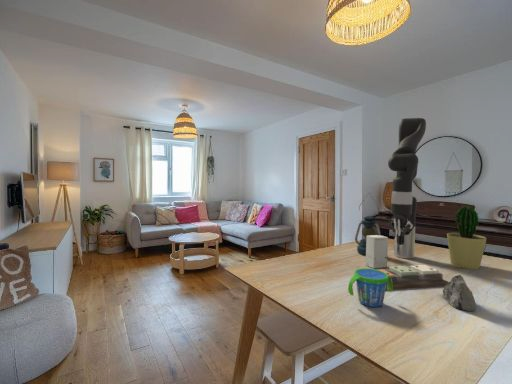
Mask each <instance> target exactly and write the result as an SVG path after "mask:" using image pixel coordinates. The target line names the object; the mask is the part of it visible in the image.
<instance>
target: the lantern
mask: <svg viewBox="0 0 512 384" xmlns="http://www.w3.org/2000/svg"><path fill="white" fill-rule="evenodd" d="M368 195H370V196H372V194H371V193H370V192H368V193H367V195H365V196H366V197H364V199H363V201H362V202H361V203H360V205H359V207H358V208H359V209H358V210H360V207H361V205H362V204H363V202H364V201H365V199H366V198H367V197H368ZM372 200H373V201H374V203H375V204H376V206H378V204H377V202H376V201H375V199H374V198H372ZM377 210H378V213H380V209H379V207H377ZM379 223H380V221H378V222H377V221H375V217H372V216H370V215H367V216H364V217H363V219H362V220H360V223H358V225H357V226H358V227H357V229H356V233H355V236H354V241H355V243H356V244H357V246H356V250H357V254H359V255H361V256H365V257H366V236H369V235H375V234H376V232H377V234H378V235H381V230H380V226H379ZM362 225H363V228H362V227H361V226H362ZM374 226H376V229H375V228H374ZM361 228H362V230H360V229H361ZM360 232H361V234H362V236H363V237H364V238H362V239H360V241H359V240H358V239H359V234H360ZM381 236H382V235H381Z"/></svg>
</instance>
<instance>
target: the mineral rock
mask: <svg viewBox="0 0 512 384" xmlns="http://www.w3.org/2000/svg"><path fill="white" fill-rule="evenodd" d="M448 282H449V283H447V284H446V285H445V286H443V289H442V293H443V294H442V295H443V298H444V299H445V301H447V302H448V303H449V304H450V305H451V306H452V307H454V308H455V309H458V310H463V311H465V312H471V311H476V310H477V305H476V299H475V297H474V294H473V291H472V290H470V288H469V287H468V285H467V283H466V281H465V279H464V277H463V276H462V275H460V274H457V275H455V276H453V277H452V278H451V280H450V281H448Z"/></svg>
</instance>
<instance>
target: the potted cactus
mask: <svg viewBox="0 0 512 384" xmlns="http://www.w3.org/2000/svg"><path fill="white" fill-rule="evenodd" d="M479 217H480V216H479V213H478V211H477V210H475V209H474V207H473V206H468V205H465V206H462V207H460V208H459V209H458V210H457V211H456V212H455V219H454V223H457V225H456V226H457V230H458V232H448V233H446V237H447V238H446V239H447V245H448V252H449V260H450V264H451V265H452V266H455V267H459V268H462V269H467V270H478V269H480V268H481V264H482V260H483V256H484V253H485V252H484V251H485V247H486V243H487V237H485V236H483V235H480V234H479V235H477V234H475V233H476V231H477V227H479V225H480V223H479V222H480V219H479Z"/></svg>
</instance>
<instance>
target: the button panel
mask: <svg viewBox="0 0 512 384" xmlns="http://www.w3.org/2000/svg"><path fill="white" fill-rule="evenodd" d="M374 269H375V270H379V269H380V268H374ZM382 269H383V270H385V271H387V272H389V273H391V274H393V275H394V276H390V277H391V279H392V283H393V290H400V289H415V288H416V289H417V288H431V287H432V288H433V287H444V286H445V285H446V284H447V283H449V282H450V281H448V280H445V279H443V276H444V274H443V273H441V272H439V271H438V274H421V273H419V272H417V275H404V276H401V275H399V274H397V273H395V272H393V271H391V270H389V268H382ZM386 290H387V284H386ZM386 290H385V291H386ZM387 291H388V290H387Z"/></svg>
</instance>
